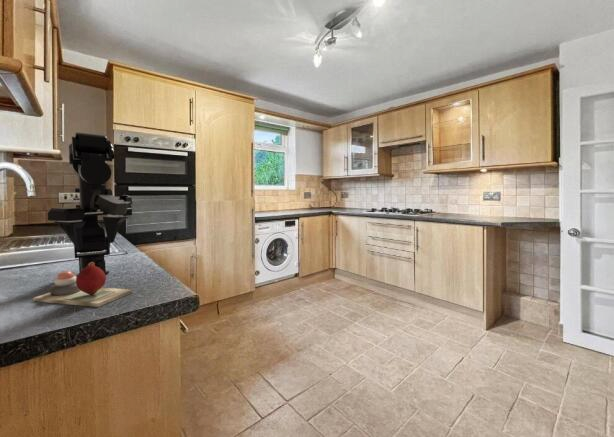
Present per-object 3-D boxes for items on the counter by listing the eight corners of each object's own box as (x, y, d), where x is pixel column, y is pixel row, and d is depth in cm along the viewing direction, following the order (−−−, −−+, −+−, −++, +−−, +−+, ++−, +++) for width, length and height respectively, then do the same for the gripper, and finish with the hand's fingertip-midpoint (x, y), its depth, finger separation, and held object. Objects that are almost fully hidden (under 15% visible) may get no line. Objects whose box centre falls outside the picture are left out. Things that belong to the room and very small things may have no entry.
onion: (91, 300, 68) (90, 266, 67) (70, 297, 69) (68, 264, 68) (111, 291, 74) (111, 260, 73) (92, 289, 74) (91, 258, 74)
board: (33, 301, 70) (32, 289, 69) (74, 288, 79) (73, 278, 79) (97, 306, 66) (97, 294, 66) (132, 292, 76) (131, 282, 76)
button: (50, 286, 72) (49, 272, 72) (67, 281, 76) (66, 268, 76) (64, 287, 71) (63, 273, 71) (80, 282, 75) (80, 269, 75)
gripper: (85, 184, 63) (88, 255, 65) (148, 186, 81) (149, 241, 83) (43, 183, 65) (47, 252, 67) (114, 185, 84) (116, 239, 85)
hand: (96, 245), depth 75 cm, fingers open, 9 cm apart
